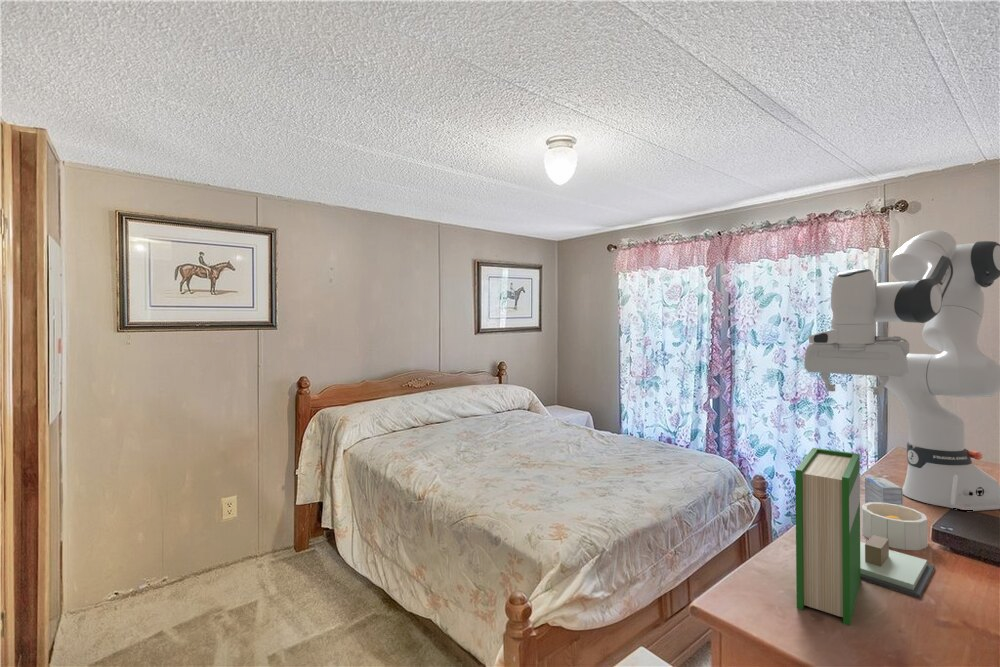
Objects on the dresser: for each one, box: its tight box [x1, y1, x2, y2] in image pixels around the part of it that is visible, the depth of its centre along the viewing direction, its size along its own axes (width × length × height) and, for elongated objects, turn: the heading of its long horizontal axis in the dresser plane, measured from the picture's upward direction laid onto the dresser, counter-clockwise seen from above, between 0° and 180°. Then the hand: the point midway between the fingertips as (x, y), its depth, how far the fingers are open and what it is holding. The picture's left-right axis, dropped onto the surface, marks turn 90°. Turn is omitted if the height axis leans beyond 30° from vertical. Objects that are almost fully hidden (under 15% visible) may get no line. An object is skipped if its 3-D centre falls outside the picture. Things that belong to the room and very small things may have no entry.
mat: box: [860, 562, 936, 599], centre depth 94 cm, size 15×15×1 cm
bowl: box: [861, 502, 928, 551], centre depth 106 cm, size 11×11×6 cm
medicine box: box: [864, 476, 904, 506], centre depth 117 cm, size 8×4×9 cm, turn 168°
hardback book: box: [794, 447, 862, 627], centre depth 85 cm, size 18×7×24 cm, turn 138°
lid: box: [860, 535, 928, 590], centre depth 94 cm, size 13×13×4 cm
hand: (853, 393), depth 115 cm, fingers open, 8 cm apart
